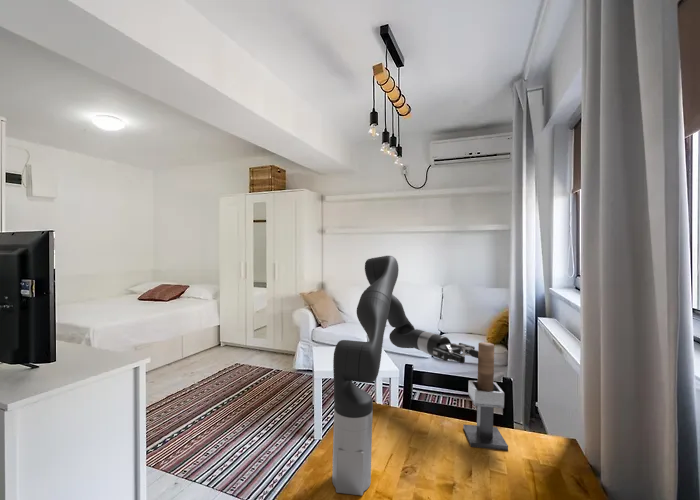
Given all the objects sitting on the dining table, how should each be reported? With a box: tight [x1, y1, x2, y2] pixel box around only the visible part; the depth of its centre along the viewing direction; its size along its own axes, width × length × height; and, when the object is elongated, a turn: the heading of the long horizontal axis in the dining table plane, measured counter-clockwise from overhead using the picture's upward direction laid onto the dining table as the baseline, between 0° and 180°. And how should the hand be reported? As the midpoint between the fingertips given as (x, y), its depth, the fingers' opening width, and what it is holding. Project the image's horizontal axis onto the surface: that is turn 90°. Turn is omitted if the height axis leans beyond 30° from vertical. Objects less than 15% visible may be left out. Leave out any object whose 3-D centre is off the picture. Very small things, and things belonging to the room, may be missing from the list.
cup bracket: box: [462, 380, 509, 451], centre depth 98 cm, size 10×10×16 cm
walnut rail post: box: [477, 341, 496, 391], centre depth 98 cm, size 4×4×16 cm
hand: (473, 357), depth 102 cm, fingers open, 8 cm apart
